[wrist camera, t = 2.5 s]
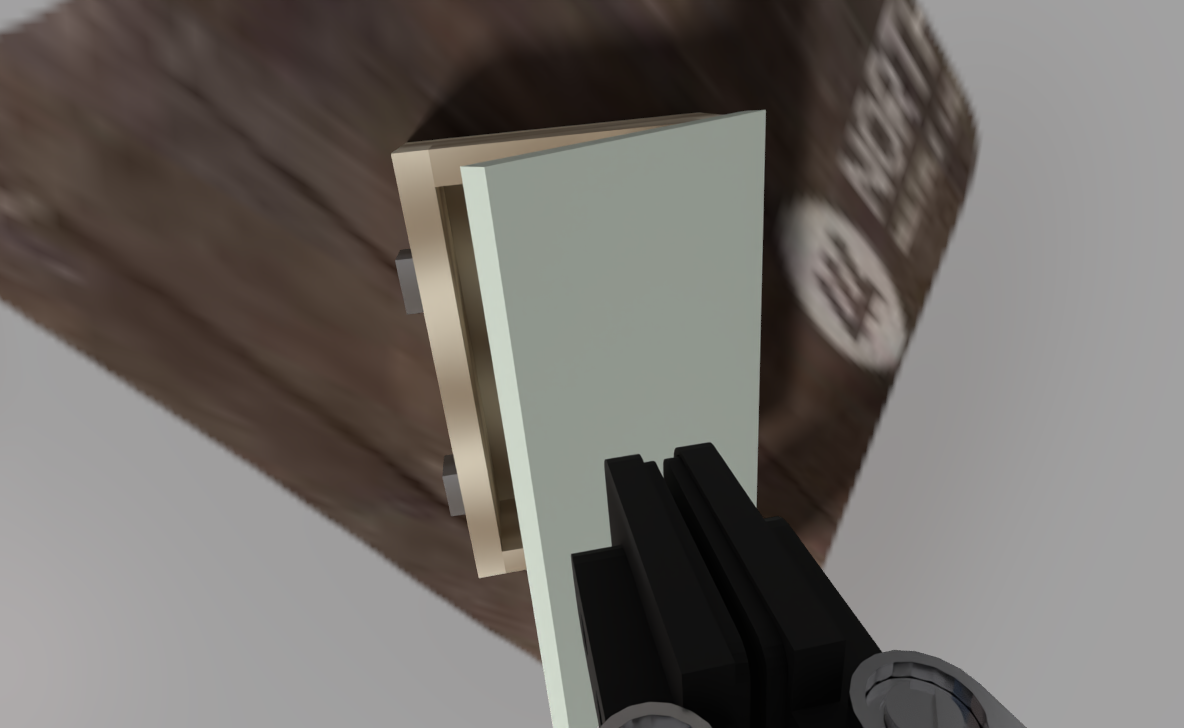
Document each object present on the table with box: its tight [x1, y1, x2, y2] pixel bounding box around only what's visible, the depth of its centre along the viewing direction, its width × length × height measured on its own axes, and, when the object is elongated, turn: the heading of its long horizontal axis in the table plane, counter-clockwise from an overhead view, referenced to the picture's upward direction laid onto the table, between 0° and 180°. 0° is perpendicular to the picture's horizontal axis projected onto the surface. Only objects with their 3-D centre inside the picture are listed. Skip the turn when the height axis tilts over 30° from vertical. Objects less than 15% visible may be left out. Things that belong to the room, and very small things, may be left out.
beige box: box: [391, 112, 720, 578], centre depth 27 cm, size 18×13×5 cm
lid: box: [460, 110, 766, 728], centre depth 21 cm, size 18×12×1 cm
